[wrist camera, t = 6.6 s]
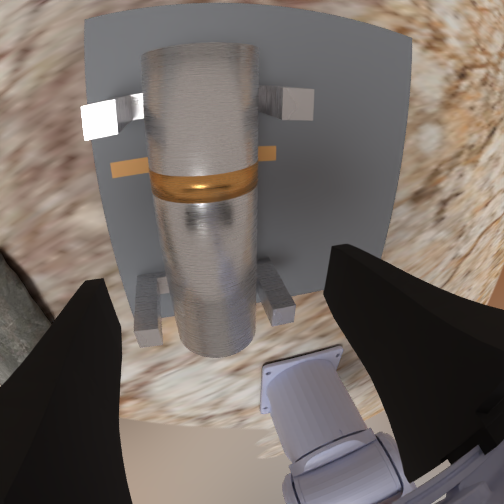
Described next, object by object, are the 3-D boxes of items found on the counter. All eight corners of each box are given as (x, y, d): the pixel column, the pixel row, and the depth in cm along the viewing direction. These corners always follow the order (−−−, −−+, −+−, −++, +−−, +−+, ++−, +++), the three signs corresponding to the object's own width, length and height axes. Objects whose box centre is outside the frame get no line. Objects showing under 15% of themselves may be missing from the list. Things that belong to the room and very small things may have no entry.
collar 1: (273, 108, 14) (312, 120, 10) (109, 123, 12) (84, 140, 8) (273, 85, 13) (314, 89, 9) (107, 99, 11) (80, 106, 8)
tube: (245, 296, 19) (265, 348, 15) (175, 307, 18) (182, 364, 14) (243, 54, 11) (276, 43, 8) (144, 60, 10) (134, 49, 7)
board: (371, 274, 23) (375, 278, 22) (135, 315, 19) (135, 321, 18) (405, 38, 13) (412, 38, 13) (87, 21, 9) (84, 19, 9)
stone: (117, 384, 22) (16, 232, 15) (117, 419, 19) (-8, 253, 12) (35, 409, 20) (-60, 287, 14) (29, 440, 17) (-82, 311, 10)
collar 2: (268, 272, 19) (293, 321, 15) (141, 291, 17) (139, 347, 14) (268, 256, 18) (296, 305, 15) (137, 275, 17) (133, 331, 13)
